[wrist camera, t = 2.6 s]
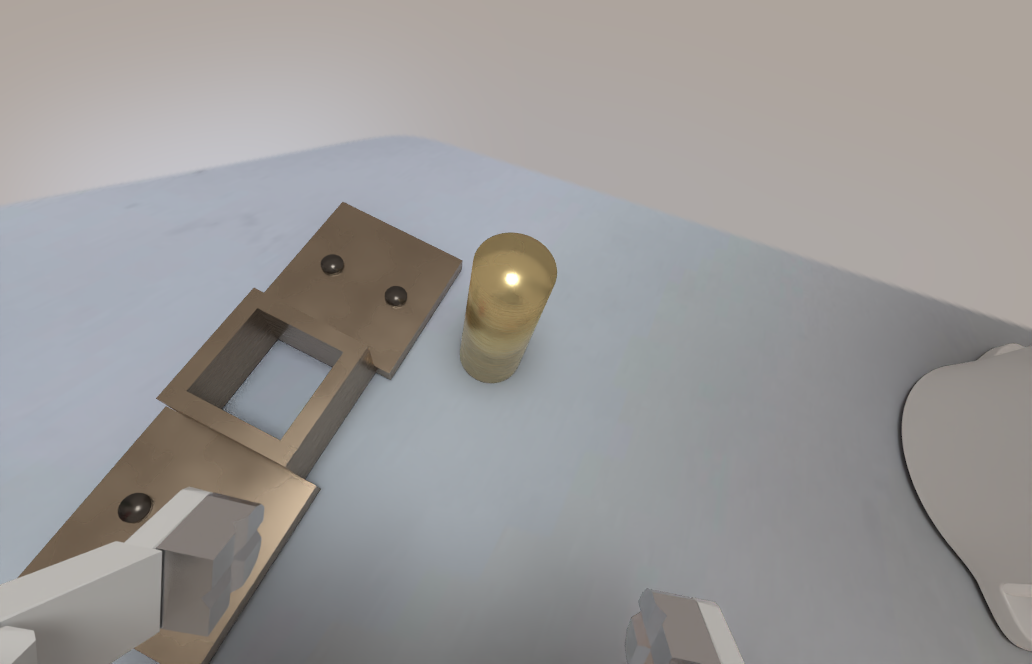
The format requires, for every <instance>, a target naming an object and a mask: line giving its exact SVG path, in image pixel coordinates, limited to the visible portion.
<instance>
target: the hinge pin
mask: <svg viewBox="0 0 1032 664" xmlns="http://www.w3.org/2000/svg"><path fill="white" fill-rule="evenodd" d="M556 278H557V267H556V263H555V260H554V258H553V256H552V254H551V253H550V251H549V250H548V249H547V248H546V247H545V246H544V245H543V244H542V243H540V242H539V241H538V240H536V239H534V238H532V237H530V236H527V235H524V234H520V233H502V234H498V235H495V236H492V237H490V238H489V239H487V240H486V241H484V242H483V243H482V244H481V245H480V247H479V248H478V249H477V251H476V253H475V256H474V260H473V266H472V273H471V280H470V286H469V293H468V300H467V307H466V314H465V321H464V328H463V334H462V341H461V348H460V359H461V363H462V365H463V367H464V369H465V370H466V372H467V373H468V374H469V375H470V376H472V377H473V378H475V379H476V380H479V381H481V382H485V383H497V382H501V381H504V380H506V379H508V378H509V377H510V376H512V375H513V374H514V372H515V371H516V369H517V368H518V365H519V363H520V361H521V359H522V356H523V354H524V352H525V350H526V347H527V345H528V343H529V341H530V338H531V336H532V334H533V332H534V329H535V327H536V325H537V323H538V321H539V318H540V316H541V314H542V312H543V309H544V307H545V305H546V303H547V300H548V298H549V296H550V294H551V291H552V289H553V287H554V285H555V282H556Z"/></svg>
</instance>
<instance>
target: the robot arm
mask: <svg viewBox="0 0 1032 664" xmlns="http://www.w3.org/2000/svg"><path fill="white" fill-rule="evenodd" d="M902 441H903V449H904V455H905V459H906V463H907V467H908V470H909V473H910V476H911V479H912V482H913V484H914V487H915V489H916V491H917V494H918V496H919V498H920V500H921V502H922V504H923V506H924V508H925V509H926V511H927V513H928V515H929V516H930V518H931V520H932V521H933V523H934V524H935V526H936V527H937V529H938V530H939V532H940V533H941V535H942V536H943V537H944V539H945V540H946V541H947V542H948V544H949V545H950V546H951V547H952V549H953V550H954V551H955V552H956V553H957V555H958V556H959V557H960V558H961V560H962V561H963V562H964V563H965V565H966V566H967V567H968V569H969V570H970V571H971V573H972V574H973V576H974V577H975V579H976V580H977V582H978V584H979V587H980V589H981V591H982V593H983V595H984V598H985V600H986V602H987V604H988V606H989V608H990V610H991V612H992V614H993V616H994V618H995V620H996V622H997V624H998V625H999V627H1000V629H1001V630H1002V632H1003V633H1004V634H1005V636H1006V637H1007V638H1008V639H1009V640H1010V641H1011V642H1012V643H1013V644H1015V645H1016V646H1018V647H1020V648H1022V649H1025V650H1028V651H1031V652H1032V346H1028V347H1023V346H1021V345H1019V344H1015V343H1011V344H1007V345H1003V346H999V347H996V348H993V349H991V350H989V351H988V352H986V353H985V354H984V355H982V356H981V357H980V358H979V359H978V360H977V361H972V362H966V363H960V364H954V365H948V366H943V367H940V368H937V369H935V370H933V371H931V372H929V373H927V374H926V375H924V376H923V377H922V378H921V379H920V380H919V381H918V382H917V383H916V384H915V386H914V387H913V388H912V390H911V392H910V394H909V396H908V398H907V401H906V404H905V407H904V412H903V418H902ZM263 520H264V506H263V505H262V504H260V503H256V502H252V501H248V500H244V499H240V498H235V497H231V496H227V495H223V494H219V493H215V492H214V493H212V492H208V491H204V490H200V489H197V488H193V487H187V488H185V489H182V490H181V491H180V492H178V493H177V494H176V495H175V496H174V497H173V498H172V499H171V500H170V501H169V502H168V503H167V504H165V505H164V506H163V507H162V508H161V509H160V510H159V511H158V512H157V513H156V514H155V515H153V516H152V517H151V518H150V519H149V520H148V521H147V522H146V523H145V524H144V525H143V526H142V527H140V528H139V529H138V530H137V531H136V532H135V533H134V534H133V535H132V536H131V537H130V538H129V539H127V540H126V541H125V542H124V543H123V542H118V541H115V542H112V543H110V544H107V545H104V546H102V547H99V548H97V549H94V550H91V551H89V552H86V553H83V554H81V555H78V556H75V557H73V558H70V559H67V560H65V561H62V562H60V563H57V564H54V565H52V566H49V567H46V568H44V569H41V570H38V571H36V572H33V573H31V574H28V575H25V576H23V577H20V578H17V579H15V580H12V581H9V582H7V583H4V584H1V585H0V664H110V663H112V662H113V661H115V660H116V659H118V658H120V657H121V656H123V655H124V654H126V653H127V652H129V651H130V650H132V649H134V648H135V647H137V646H138V645H140V644H141V643H143V642H144V641H146V640H148V639H149V638H151V637H152V636H154V635H155V634H157V633H158V632H160V629H165V630H171V631H177V632H182V633H188V634H194V635H200V636H206V637H208V636H209V635H210V633H211V632H212V630H213V629H214V627H215V626H216V624H217V623H218V621H219V620H220V619H221V617H222V616H223V614H224V613H225V611H226V610H227V608H228V607H229V602H230V593H232V592H233V591H235V590H237V589H239V588H241V587H242V586H243V585H244V583H245V582H246V580H247V579H248V577H249V576H250V574H251V572H252V570H253V568H254V565H255V563H256V561H257V559H258V555H259V551H260V548H261V540H262V537H261V536H260V534H259V533H258V531H257V529H258V527H259V526H260V524H261V523H262V522H263ZM638 602H639V606H640V610H641V612H639V613H638V614H636V615H635V616H633V617H631V620H630V623H629V625H628V628H627V633H626V640H625V653H626V660H627V664H745V663H744V661H743V659H742V656H741V654H740V652H739V650H738V647H737V645H736V643H735V641H734V638H733V636H732V634H731V632H730V629H729V627H728V625H727V623H726V621H725V618H724V616H723V614H722V612H721V609H720V607H719V606H718V605H717V604H716V603H715V602H712V601H707V600H702V599H697V598H690V597H686V596H681V595H676V594H672V593H667V592H662V591H657V590H653V589H648V588H647V589H646V590H645V591H644V592H643V593H642V595H641V597H640V599H639V601H638Z"/></svg>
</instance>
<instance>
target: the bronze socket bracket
mask: <svg viewBox="0 0 1032 664" xmlns="http://www.w3.org/2000/svg"><path fill="white" fill-rule="evenodd" d="M461 268H462V260H460V259H458V258H456V257H454V256H452V255H450V254H448V253H446V252H444V251H442V250H440V249H438V248H436V247H434V246H432V245H430V244H428V243H426V242H424V241H421V240H419V239H417V238H415V237H413V236H411V235H409V234H407V233H405V232H403V231H401V230H399V229H397V228H395V227H393V226H391V225H389V224H387V223H385V222H383V221H381V220H379V219H377V218H375V217H373V216H371V215H369V214H367V213H365V212H363V211H360V210H358V209H356V208H354V207H352V206H350V205H348V204H346V203H344V202H342V203H341V204H340V206H339V207H338V208H337V209H336V210H335V211H334V213H333V214H332V215H331V216H330V217H329V218H328V219H327V221H326V222H325V223H324V224H323V225H322V226H321V228H320V229H319V230H318V231H317V232H316V233H315V235H314V236H313V237H312V238H311V239H310V240H309V241H308V243H307V244H306V245H305V246H304V247H303V248H302V250H301V251H300V252H299V253H298V254H297V255H296V257H295V258H294V259H293V260H292V261H291V262H290V263H289V265H288V266H287V267H286V268H285V269H284V270H283V272H282V273H281V274H280V275H279V276H278V277H277V278H276V280H275V281H274V282H273V283H272V284H271V285H270V287H269V288H268V289H267V290H266V291H265V292H264V293H263V292H261V291H259V290H257V289H255V288H253V289H252V290H251V292H250V293H249V294H248V295H247V296H246V297H245V298H244V299H243V301H242V302H241V303H240V304H239V305H238V306H237V307H236V309H235V310H234V311H233V312H232V313H231V314H230V315H229V316H228V318H227V319H226V320H225V321H224V322H223V323H222V324H221V325H220V327H219V328H218V329H217V330H216V331H215V332H214V333H213V335H212V336H211V337H210V338H209V339H208V340H207V341H206V342H205V344H204V345H203V346H202V347H201V348H200V349H199V350H198V352H197V353H196V354H195V355H194V356H193V357H192V358H191V359H190V361H189V362H188V363H187V364H186V365H185V366H184V367H183V369H182V370H181V371H180V372H179V373H178V374H177V375H176V376H175V378H174V379H173V380H172V381H171V382H170V383H169V384H168V386H167V387H166V388H165V389H164V390H163V391H162V392H161V393H160V395H159V396H158V397H157V398H156V399H158V400H159V401H161V402H162V403H164V404H166V405H167V406H169V407H170V408H172V409H174V410H175V411H174V410H172V409H170V408H168V407H165V408H164V409H163V410H162V411H161V413H160V414H159V415H158V416H157V417H156V418H155V420H154V421H153V422H152V423H151V424H150V425H149V426H148V428H147V429H146V430H145V431H144V432H143V433H142V435H141V436H140V437H139V438H138V439H137V440H136V442H135V443H134V444H133V445H132V446H131V447H130V448H129V450H128V451H127V452H126V453H125V454H124V455H123V457H122V458H121V459H120V460H119V461H118V462H117V463H116V465H115V466H114V467H113V468H112V469H111V470H110V472H109V473H108V474H107V475H106V476H105V477H104V479H103V480H102V481H101V482H100V483H99V484H98V485H97V487H96V488H95V489H94V490H93V491H92V492H91V494H90V495H89V496H88V497H87V498H86V499H85V500H84V502H83V503H82V504H81V505H80V506H79V507H78V509H77V510H76V511H75V512H74V513H73V514H72V516H71V517H70V518H69V519H68V520H67V521H66V522H65V524H64V525H63V526H62V527H61V528H60V529H59V531H58V532H57V533H56V534H55V535H54V536H53V537H52V539H51V540H50V541H49V542H48V543H47V544H46V546H45V547H44V548H43V549H42V550H41V551H40V553H39V554H38V555H37V556H36V557H35V558H34V559H33V561H32V562H31V563H30V564H29V565H28V566H27V568H26V569H25V570H24V571H23V572H22V573H21V574H20V576H19V577H18V578H20V577H23V576H25V575H28V574H31V573H33V572H36V571H38V570H41V569H44V568H46V567H49V566H52V565H54V564H57V563H60V562H62V561H65V560H67V559H70V558H73V557H75V556H78V555H81V554H83V553H86V552H89V551H91V550H94V549H97V548H99V547H102V546H104V545H107V544H110V543H112V542H115V541H118V542H123V543H124V542H125V541H126V540H127V539H129V538H130V537H131V536H132V535H133V534H134V533H135V532H136V531H137V530H138V529H139V528H140V527H142V526H143V525H144V524H145V523H146V522H147V521H148V520H149V519H150V518H151V517H152V516H153V515H155V514H156V513H157V512H158V511H159V510H160V509H161V508H162V507H163V506H164V505H165V504H167V503H168V502H169V501H170V500H171V499H172V498H173V497H174V496H175V495H176V494H177V493H178V492H180V491H181V490H182V489H185V488H187V487H193V488H197V489H200V490H204V491H208V492H212V493H214V492H215V493H219V494H223V495H227V496H231V497H235V498H240V499H244V500H248V501H252V502H256V503H260V504H262V505H263V506H264V520H263V522H262V523H261V524H260V526H259V527H258V529H257V531H258V533H259V534H260V536H261V537H262V540H261V548H260V551H259V555H258V559H257V561H256V563H255V565H254V568H253V570H252V572H251V574H250V576H249V577H248V579H247V580H246V582H245V583H244V585H243V586H242V587H241V588H239V589H237V590H235V591H233V592H232V593H230V602H229V607H228V608H227V610H226V611H225V613H224V614H223V616H222V617H221V619H220V620H219V621H218V623H217V624H216V626H215V627H214V629H213V630H212V632H211V633H210V635H209V636H208V637H206V636H200V635H194V634H188V633H182V632H177V631H171V630H165V629H160V632H158V633H157V634H155V635H154V636H152V637H151V638H149V639H148V640H146V641H144V642H143V643H141V644H140V645H138V646H137V647H135V648H134V649H135V650H137V651H139V652H141V653H143V654H144V655H146V656H148V657H150V658H151V659H153V660H155V661H157V662H159V663H160V664H209V662H210V660H211V659H212V657H213V656H214V654H215V653H216V651H217V649H218V648H219V646H220V645H221V643H222V642H223V640H224V639H225V637H226V635H227V634H228V632H229V631H230V629H231V628H232V626H233V625H234V623H235V621H236V620H237V618H238V617H239V615H240V614H241V612H242V611H243V609H244V607H245V606H246V604H247V603H248V601H249V600H250V598H251V597H252V595H253V593H254V592H255V590H256V589H257V587H258V586H259V584H260V583H261V581H262V579H263V578H264V576H265V575H266V573H267V572H268V570H269V569H270V567H271V565H272V564H273V562H274V561H275V559H276V558H277V556H278V555H279V553H280V551H281V550H282V548H283V547H284V545H285V544H286V542H287V540H288V539H289V537H290V536H291V534H292V533H293V531H294V530H295V528H296V526H297V525H298V523H299V522H300V520H301V519H302V517H303V516H304V514H305V512H306V511H307V509H308V508H309V506H310V505H311V503H312V502H313V500H314V498H315V497H316V495H317V494H318V492H319V491H320V488H319V487H317V486H316V485H314V484H312V483H310V482H308V481H306V480H304V479H305V478H306V476H307V475H308V473H309V472H310V470H311V469H312V467H313V466H314V464H315V463H316V461H317V460H318V458H319V457H320V455H321V454H322V452H323V451H324V449H325V448H326V446H327V445H328V443H329V442H330V440H331V439H332V437H333V436H334V434H335V433H336V431H337V430H338V428H339V427H340V425H341V424H342V422H343V421H344V419H345V418H346V416H347V415H348V413H349V412H350V410H351V409H352V407H353V406H354V404H355V403H356V401H357V400H358V398H359V397H360V395H361V394H362V392H363V391H364V389H365V388H366V386H367V385H368V383H369V382H370V380H371V379H372V377H373V376H374V374H375V373H378V374H380V375H382V376H384V377H386V378H388V379H390V380H391V379H392V377H393V375H394V374H395V372H396V371H397V369H398V368H399V366H400V365H401V363H402V361H403V360H404V358H405V357H406V355H407V354H408V352H409V351H410V349H411V347H412V346H413V344H414V343H415V341H416V340H417V338H418V336H419V335H420V333H421V332H422V330H423V329H424V327H425V326H426V324H427V322H428V321H429V319H430V318H431V316H432V315H433V313H434V312H435V310H436V308H437V307H438V305H439V304H440V302H441V301H442V299H443V298H444V296H445V294H446V293H447V291H448V290H449V288H450V287H451V285H452V284H453V282H454V280H455V279H456V277H457V276H458V274H459V273H460V271H461ZM277 339H279V340H281V341H283V342H284V343H286V344H288V345H290V346H292V347H294V348H296V349H298V350H300V351H302V352H304V353H306V354H308V355H310V356H312V357H314V358H316V359H318V360H320V361H322V362H323V363H325V364H327V365H329V366H331V367H333V368H332V369H331V370H330V372H329V373H328V375H327V376H326V377H325V379H324V380H323V382H322V383H321V384H320V386H319V387H318V389H317V390H316V391H315V393H314V394H313V396H312V397H311V398H310V400H309V401H308V403H307V404H306V405H305V407H304V408H303V410H302V411H301V412H300V414H299V415H298V417H297V418H296V419H295V421H294V422H293V424H292V425H291V426H290V428H289V429H288V431H287V432H286V433H285V435H284V436H283V438H282V439H281V440H278V439H277V438H275V437H273V436H271V435H269V434H267V433H265V432H263V431H261V430H259V429H258V428H256V427H254V426H252V425H250V424H248V423H246V422H244V421H242V420H240V419H238V418H237V417H235V416H233V415H231V414H229V413H227V412H225V411H223V410H221V409H222V408H223V407H224V406H225V404H226V403H227V402H228V401H229V399H230V398H231V397H232V396H233V394H234V393H235V392H236V391H237V389H238V388H239V387H240V386H241V384H242V383H243V382H244V381H245V379H246V378H247V377H248V376H249V374H250V373H251V372H252V371H253V369H254V368H255V367H256V366H257V364H258V363H259V362H260V361H261V359H262V358H263V357H264V356H265V354H266V353H267V352H268V351H269V349H270V348H271V347H272V346H273V344H274V343H275V342H276V341H277ZM176 411H177V412H176ZM178 412H179V413H178Z"/></svg>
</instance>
